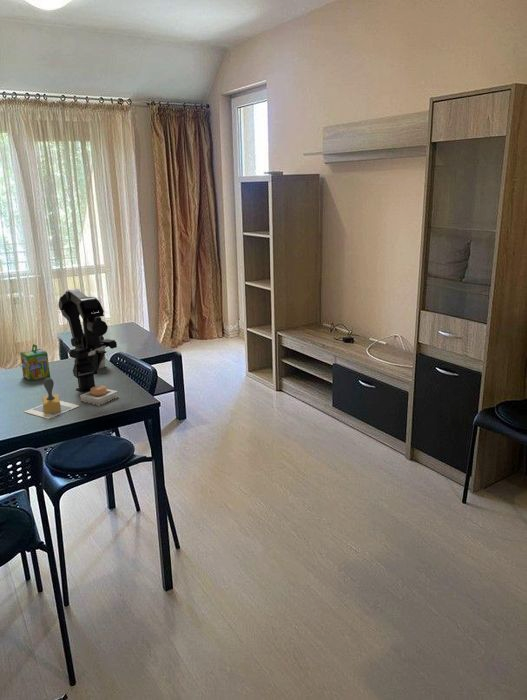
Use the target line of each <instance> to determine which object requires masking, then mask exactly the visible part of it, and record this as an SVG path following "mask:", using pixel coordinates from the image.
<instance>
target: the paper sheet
mask: <svg viewBox="0 0 527 700" xmlns="http://www.w3.org/2000/svg"><path fill="white" fill-rule="evenodd" d="M79 407H80V405H78V404H75V403H71V402H66V401H63V400H60V408H61V411H60V412H54V413H48V414H45V413H44V409H43V404H39V405H38V406H35V407H33V408H29V409H28V410H25V411H23V413H24V414H30V415H32V416H36V417H39V418H42V419H46V420H50V419H53V418H55V417H57V415H58V416H60V415H63V414H64V413H66V412H69V410H70V411H72V410H75V409H77V408H79ZM74 408H75V409H74Z"/></svg>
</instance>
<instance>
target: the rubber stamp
mask: <svg viewBox="0 0 527 700" xmlns="http://www.w3.org/2000/svg"><path fill="white" fill-rule="evenodd" d="M42 383H43V387H44V388H45V390H46V392H47V395H43V396H42V405H43V409H44V413H45V414H48V413H54V412H60V411H61V408H60V401H61V400H60V394H58V393H56V394H53V390H54V389H53V388H54V385H55V383H54V380H53V379H52V377H46V378H44V380H43V382H42Z"/></svg>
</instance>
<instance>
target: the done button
mask: <svg viewBox="0 0 527 700" xmlns="http://www.w3.org/2000/svg"><path fill="white" fill-rule="evenodd" d="M107 389H108V388H107V386H106V385H95V387H92V388H91V396H95V397H99V396H103V395H105V394H107Z"/></svg>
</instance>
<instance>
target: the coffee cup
mask: <svg viewBox="0 0 527 700" xmlns="http://www.w3.org/2000/svg"><path fill="white" fill-rule="evenodd" d="M100 339H101V341H102V340H105V338H104V335H102V336H100ZM103 349H104V351H106V350H105V349H106V347H105V348H103ZM90 350H91V349H90ZM105 367H106V353H105V354H104V356H103V358H102V361H101V363H100V366H99V368H98V370H101V369H104V368H105Z"/></svg>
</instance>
